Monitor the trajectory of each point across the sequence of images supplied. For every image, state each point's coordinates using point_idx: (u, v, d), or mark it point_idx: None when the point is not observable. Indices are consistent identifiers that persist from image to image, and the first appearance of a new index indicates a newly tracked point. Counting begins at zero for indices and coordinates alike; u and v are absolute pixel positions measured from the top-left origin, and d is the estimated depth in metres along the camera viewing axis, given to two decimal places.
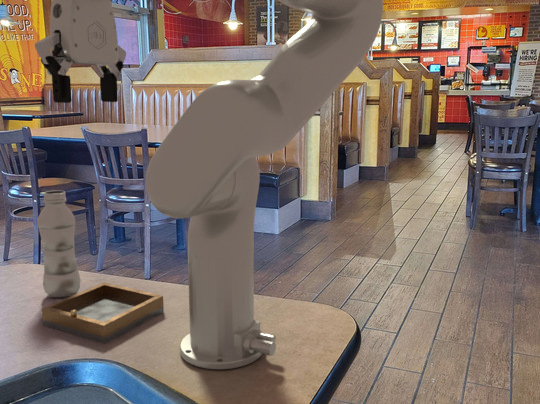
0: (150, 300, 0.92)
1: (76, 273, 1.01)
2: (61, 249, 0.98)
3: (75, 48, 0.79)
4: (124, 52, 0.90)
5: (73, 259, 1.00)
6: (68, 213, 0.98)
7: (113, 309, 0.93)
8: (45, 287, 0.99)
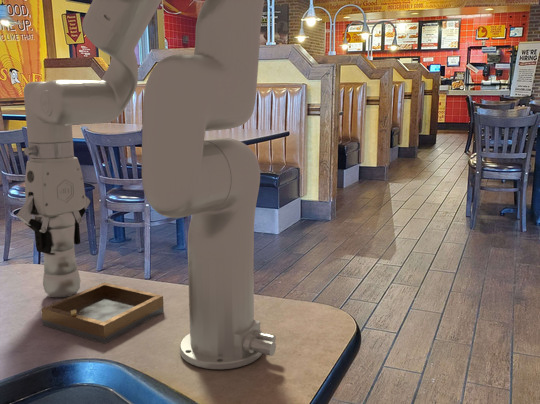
0: (150, 300, 0.92)
1: (76, 273, 1.01)
2: (61, 249, 0.98)
3: (46, 207, 0.94)
4: (88, 200, 1.05)
5: (73, 259, 1.00)
6: (68, 213, 0.98)
7: (113, 309, 0.93)
8: (45, 287, 0.99)
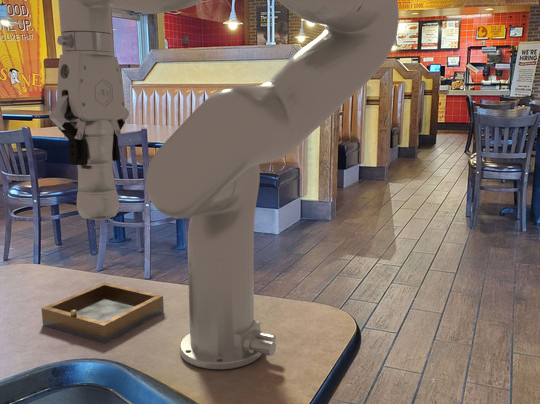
0: (150, 300, 0.92)
1: (115, 192, 0.87)
2: (99, 162, 0.84)
3: (83, 107, 0.80)
4: (127, 112, 0.91)
5: (111, 175, 0.86)
6: (106, 120, 0.84)
7: (113, 309, 0.93)
8: (79, 207, 0.85)
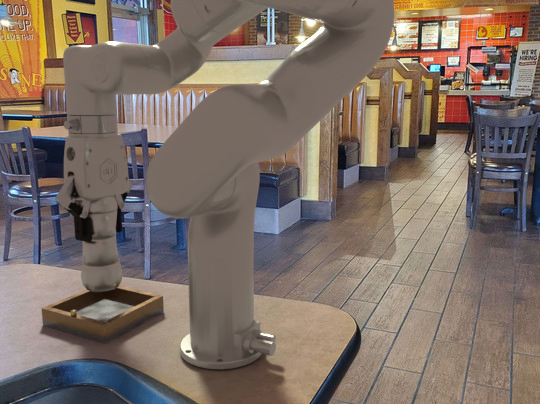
0: (150, 300, 0.92)
1: (118, 264, 0.89)
2: (103, 237, 0.87)
3: (88, 189, 0.82)
4: (131, 184, 0.93)
5: (115, 248, 0.89)
6: (111, 196, 0.87)
7: (113, 309, 0.93)
8: (84, 280, 0.88)
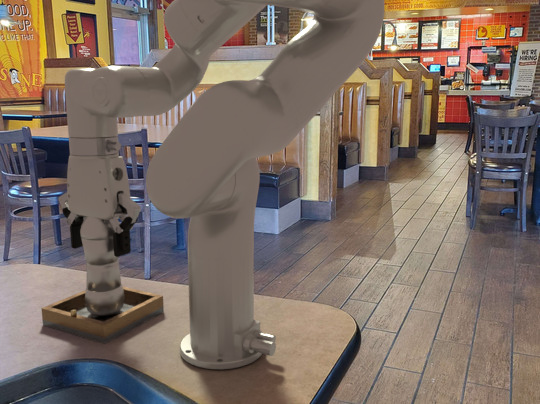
0: (150, 300, 0.92)
1: None
2: None
3: None
4: None
5: None
6: None
7: None
8: (115, 304, 0.89)
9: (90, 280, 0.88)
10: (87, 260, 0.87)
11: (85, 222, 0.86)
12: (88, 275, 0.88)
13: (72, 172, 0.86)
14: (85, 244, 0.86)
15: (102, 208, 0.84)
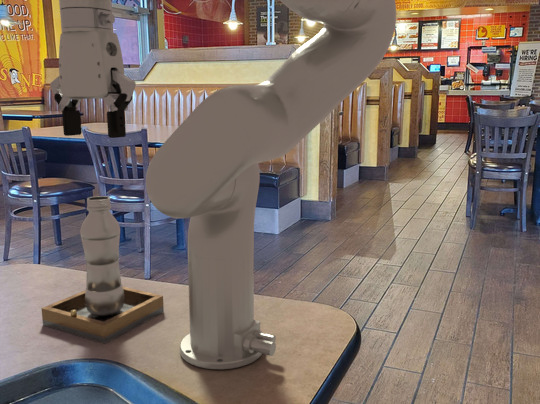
0: (150, 300, 0.92)
1: None
2: None
3: None
4: None
5: None
6: None
7: None
8: (115, 304, 0.89)
9: (90, 280, 0.88)
10: (87, 260, 0.87)
11: (85, 222, 0.86)
12: (88, 275, 0.88)
13: (63, 50, 0.82)
14: (85, 244, 0.86)
15: (95, 85, 0.80)
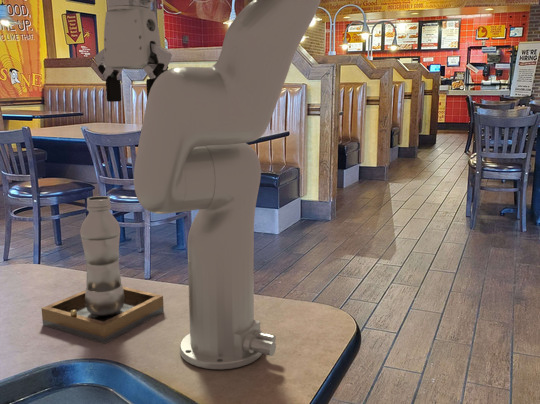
0: (150, 300, 0.92)
1: None
2: None
3: None
4: None
5: None
6: None
7: None
8: (115, 304, 0.89)
9: (90, 280, 0.88)
10: (87, 260, 0.87)
11: (85, 222, 0.86)
12: (88, 275, 0.88)
13: (108, 26, 0.95)
14: (85, 244, 0.86)
15: (137, 56, 0.93)
